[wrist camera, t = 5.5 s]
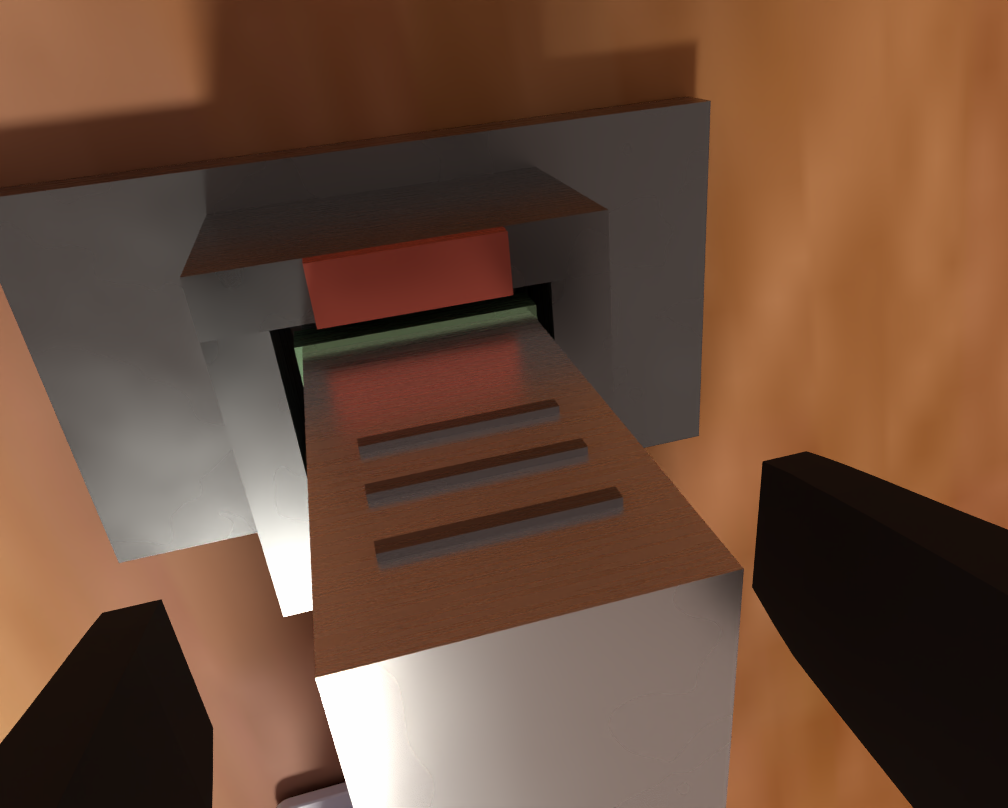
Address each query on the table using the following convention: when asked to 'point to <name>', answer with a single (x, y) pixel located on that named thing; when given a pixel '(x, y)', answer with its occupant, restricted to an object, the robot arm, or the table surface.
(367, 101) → the table surface
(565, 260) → the jack housing
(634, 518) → the block
